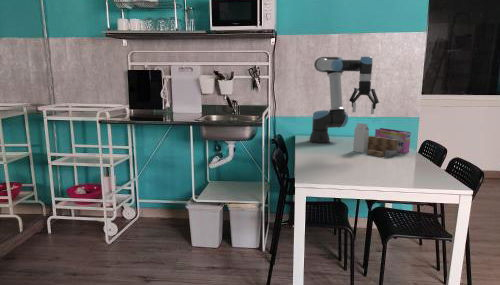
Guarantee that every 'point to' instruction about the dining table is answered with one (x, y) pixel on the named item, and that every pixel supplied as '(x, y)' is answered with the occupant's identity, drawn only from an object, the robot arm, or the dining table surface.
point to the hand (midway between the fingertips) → (363, 113)
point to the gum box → (396, 138)
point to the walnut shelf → (381, 145)
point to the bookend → (390, 153)
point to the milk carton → (361, 138)
